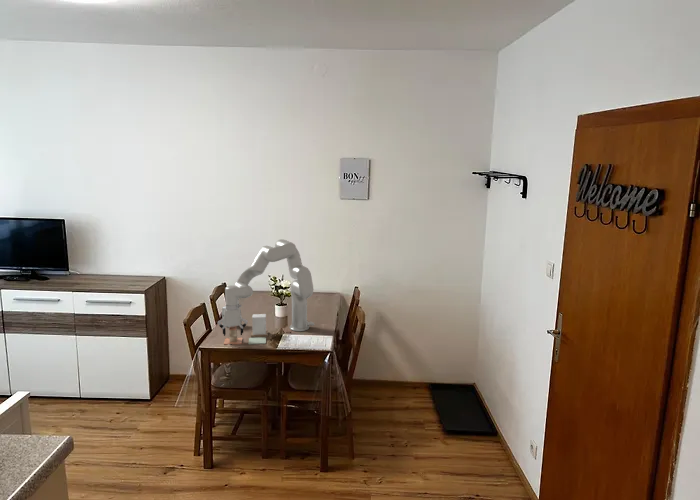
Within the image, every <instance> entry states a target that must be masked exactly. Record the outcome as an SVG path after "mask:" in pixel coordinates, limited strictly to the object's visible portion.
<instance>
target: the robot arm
mask: <svg viewBox="0 0 700 500" xmlns="http://www.w3.org/2000/svg"><path fill="white" fill-rule="evenodd" d="M274 246H275V247H273V246H270V245H264V246H262V247H261V248H260V249H259V251H258V253H257V254H256V256H255V257H254V259H253V261H252V263H251V264H250V266H248V267H247V269H245V270H244V271H243V272H242V273H241V274H240V275H239V277H238V279H237V281H236V282H235V284H234V285H227V286H226V287H225V288H224V296H225V298H224V299H225V301H224V302H225V306H226V308H225V310H224V318H223V319H222V318H221V319H220V320H218V321H217V324H218V326H219V327H220V328H221V329H222V335H223V336H224V337H226V334H227V333H226V328H227V327H226V326H234V327H238V326H239V327H240V336H243V334H244V328H245V327H246V326H247V324H248V321H249V320H247V319H246V318H243V317H242V311H241V308H242V304H240V299H248V298H250V297H252V295H253V293H254V290H253V288H252V287H251V286H250V285H249V284H250V282H251V281H252V280H253V279H254V278H255V277H258V276H260V275H263V273H264V272H265V270H266V269H267V267H268V265H269V264H270V263H275V262H280V261H283V260H285V259H286V262H287V267H288V272H289V276H290V277H291V278H292V279H294V280H293V281H292V282H291V284H290V295H291V296H290V297H291V324H290V325H289V329H290V330H291V331H294V332H305V331H308V330H309V329H310V326H315V321H314V322H313V321H308V299H309V298H311V297H312V296H313V294H314V284H313V278H312V273H311V271H310V269H309V268H308V267H306V266H305V265H303V262H302V258H301V254H300V252H299V250H298V248H297V247H296V245H295V243H293V242H291V241H289V240H286V239H278V240H276V242H275V245H274ZM223 321H224V325H223V324H222V322H223ZM243 322H244V323H243Z"/></svg>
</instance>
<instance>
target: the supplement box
mask: <svg viewBox="0 0 700 500" xmlns="http://www.w3.org/2000/svg"><path fill="white" fill-rule="evenodd" d="M225 308H226V305H225V306H223V307H221V315H222V316H221V317H222V318H221V319H223V318H224V310H225ZM221 324H222V325H224V321H223V322H221ZM230 327H235V326H226V327H225V328H230Z"/></svg>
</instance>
